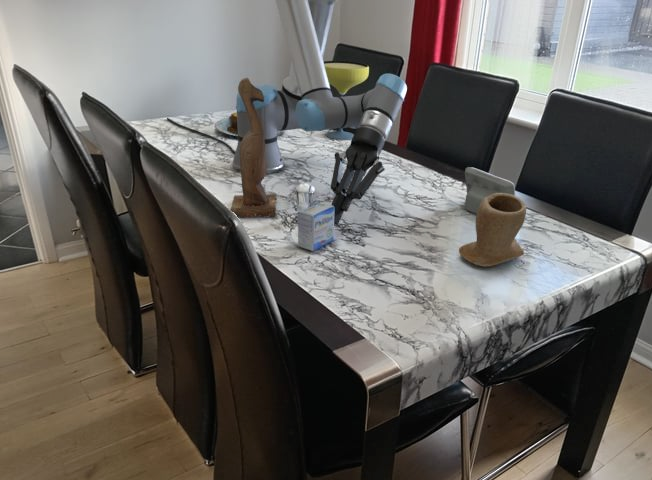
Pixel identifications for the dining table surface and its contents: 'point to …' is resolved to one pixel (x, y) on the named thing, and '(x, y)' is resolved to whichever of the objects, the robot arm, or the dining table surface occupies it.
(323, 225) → the medicine box
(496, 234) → the stone cup
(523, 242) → the dining table surface
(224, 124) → the food on plate
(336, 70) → the cocktail glass
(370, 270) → the dining table surface
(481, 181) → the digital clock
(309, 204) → the milkshake
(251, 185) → the bird sculpture
